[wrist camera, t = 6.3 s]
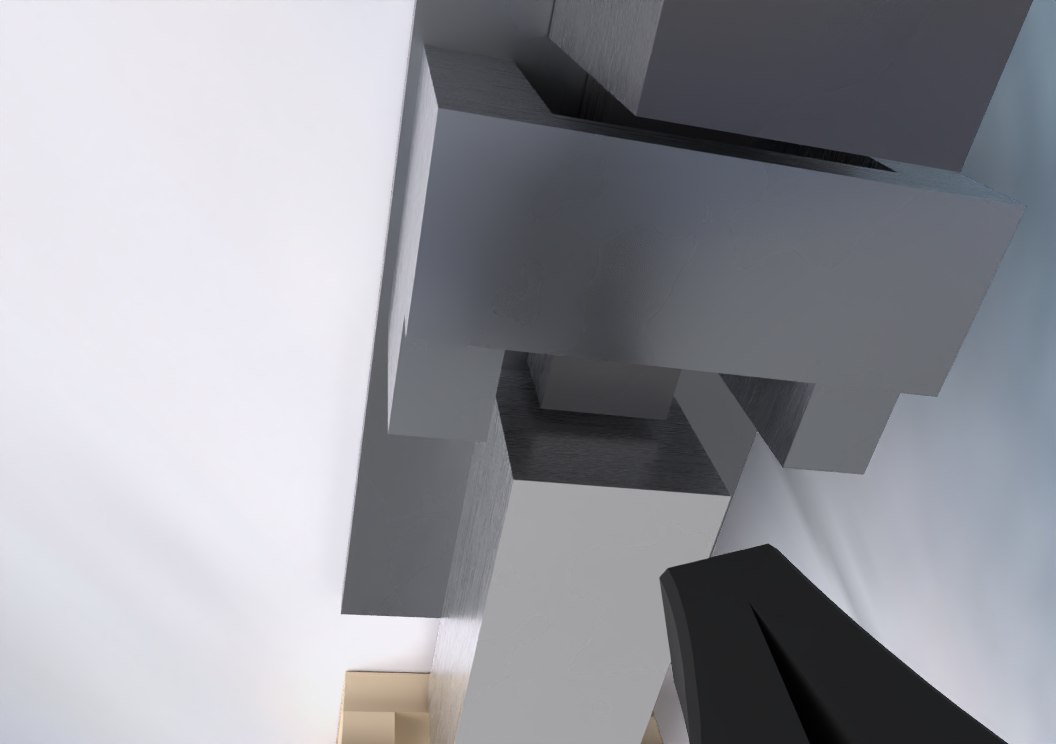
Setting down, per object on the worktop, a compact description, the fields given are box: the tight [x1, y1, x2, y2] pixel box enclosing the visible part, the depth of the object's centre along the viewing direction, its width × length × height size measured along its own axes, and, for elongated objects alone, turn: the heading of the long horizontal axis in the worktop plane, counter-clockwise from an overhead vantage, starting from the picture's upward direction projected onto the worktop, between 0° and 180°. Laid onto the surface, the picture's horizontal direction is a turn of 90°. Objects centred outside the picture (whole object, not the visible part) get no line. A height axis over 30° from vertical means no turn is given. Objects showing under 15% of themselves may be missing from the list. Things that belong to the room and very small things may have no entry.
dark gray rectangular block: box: [527, 0, 1033, 420], centre depth 13 cm, size 8×4×6 cm, turn 169°
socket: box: [341, 0, 1027, 618], centre depth 14 cm, size 20×8×5 cm, turn 169°
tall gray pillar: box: [428, 369, 731, 744], centre depth 18 cm, size 9×4×4 cm, turn 169°
